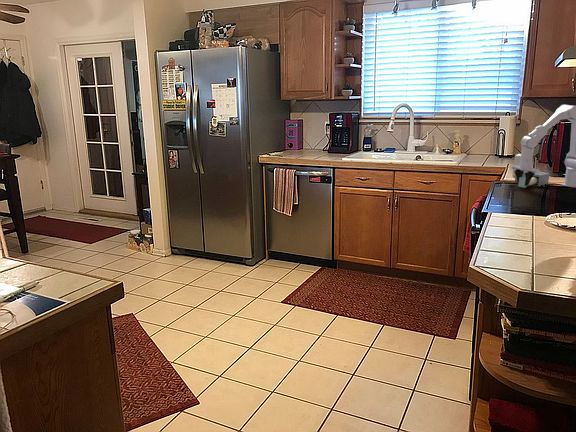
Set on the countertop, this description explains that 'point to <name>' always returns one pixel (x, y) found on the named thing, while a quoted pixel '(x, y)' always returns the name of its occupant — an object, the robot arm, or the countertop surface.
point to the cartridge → (533, 181)
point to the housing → (539, 178)
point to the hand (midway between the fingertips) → (522, 184)
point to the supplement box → (516, 162)
